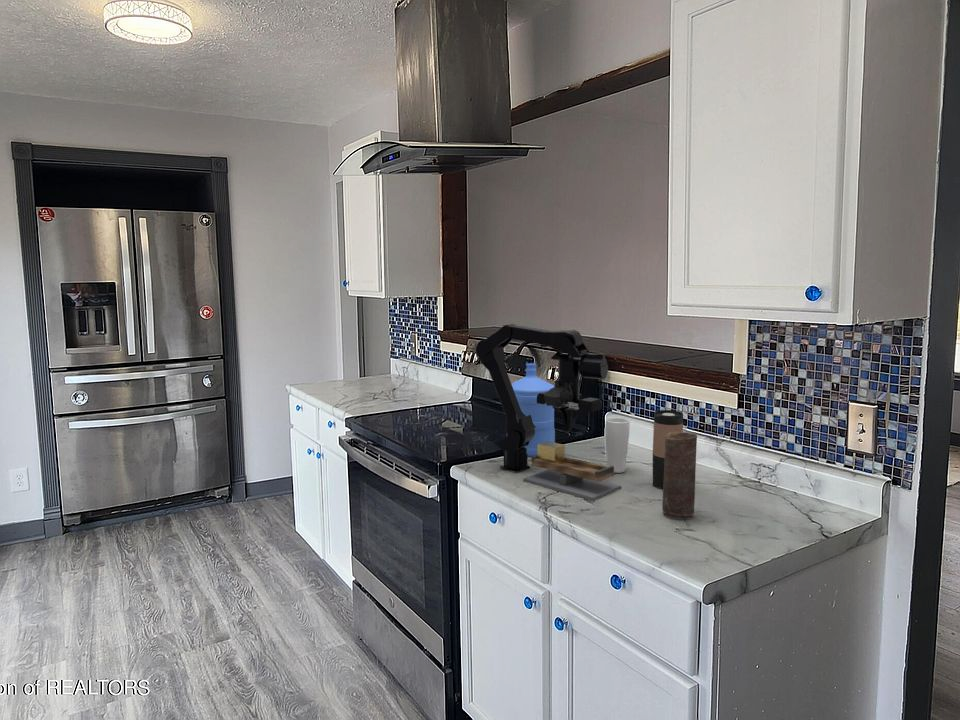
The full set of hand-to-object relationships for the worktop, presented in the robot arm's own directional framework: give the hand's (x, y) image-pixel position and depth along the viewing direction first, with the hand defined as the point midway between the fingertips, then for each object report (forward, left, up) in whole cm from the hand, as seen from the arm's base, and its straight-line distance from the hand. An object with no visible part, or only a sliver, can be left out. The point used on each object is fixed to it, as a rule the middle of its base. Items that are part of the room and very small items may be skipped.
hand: (568, 431), depth 194 cm
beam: (+5, -5, -8) cm, 11 cm away
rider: (-2, -5, -8) cm, 10 cm away
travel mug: (+24, +12, -13) cm, 30 cm away
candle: (+37, -6, -13) cm, 40 cm away
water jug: (-25, +14, -13) cm, 32 cm away
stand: (+5, -5, -13) cm, 15 cm away
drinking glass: (+7, +14, -13) cm, 20 cm away
